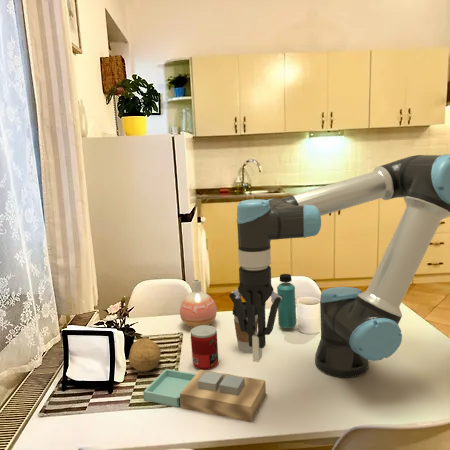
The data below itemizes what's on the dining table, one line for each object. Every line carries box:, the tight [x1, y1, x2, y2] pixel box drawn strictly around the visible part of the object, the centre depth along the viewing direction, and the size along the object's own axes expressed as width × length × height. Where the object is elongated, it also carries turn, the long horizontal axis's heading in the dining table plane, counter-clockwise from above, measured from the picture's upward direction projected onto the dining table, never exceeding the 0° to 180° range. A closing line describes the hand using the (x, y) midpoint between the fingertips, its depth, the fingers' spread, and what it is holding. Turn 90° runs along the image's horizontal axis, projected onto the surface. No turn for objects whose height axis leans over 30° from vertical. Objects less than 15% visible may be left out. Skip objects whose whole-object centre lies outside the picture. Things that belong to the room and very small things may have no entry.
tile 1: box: [198, 370, 223, 391], centre depth 108 cm, size 5×5×2 cm
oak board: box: [180, 369, 267, 423], centre depth 107 cm, size 19×12×4 cm, turn 68°
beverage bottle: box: [276, 273, 297, 329], centre depth 147 cm, size 6×7×20 cm
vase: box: [179, 278, 218, 329], centre depth 153 cm, size 14×14×18 cm
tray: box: [142, 368, 197, 408], centre depth 113 cm, size 10×12×2 cm
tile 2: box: [219, 374, 245, 395], centre depth 106 cm, size 5×5×2 cm
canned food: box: [190, 324, 219, 371], centre depth 126 cm, size 8×8×11 cm
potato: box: [128, 337, 162, 373], centre depth 126 cm, size 10×14×8 cm
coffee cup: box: [232, 301, 258, 353], centre depth 134 cm, size 8×8×15 cm
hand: (257, 358), depth 102 cm, fingers closed
